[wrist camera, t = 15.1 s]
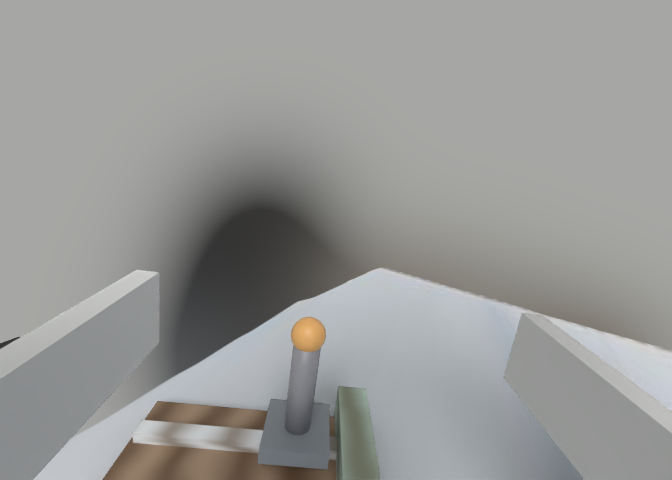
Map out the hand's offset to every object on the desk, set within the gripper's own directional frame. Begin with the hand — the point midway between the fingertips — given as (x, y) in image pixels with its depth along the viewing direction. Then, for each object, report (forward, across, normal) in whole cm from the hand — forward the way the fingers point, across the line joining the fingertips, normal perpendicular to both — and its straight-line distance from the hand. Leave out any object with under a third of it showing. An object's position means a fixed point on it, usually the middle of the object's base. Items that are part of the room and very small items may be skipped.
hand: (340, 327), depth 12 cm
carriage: (+24, -1, -30) cm, 38 cm away
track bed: (+24, -6, -32) cm, 40 cm away
